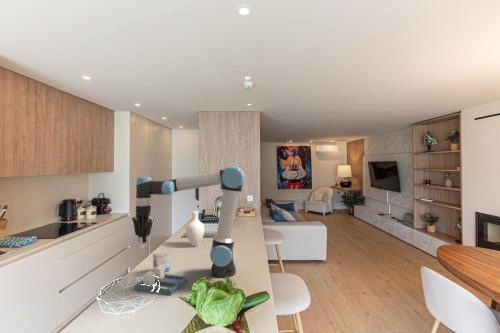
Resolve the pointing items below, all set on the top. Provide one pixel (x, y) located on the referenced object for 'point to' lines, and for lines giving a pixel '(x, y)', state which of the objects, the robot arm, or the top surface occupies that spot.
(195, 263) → the top surface
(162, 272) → the tab
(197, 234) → the vase
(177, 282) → the switch board
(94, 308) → the top surface
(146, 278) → the tab
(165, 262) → the ink box
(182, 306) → the top surface
